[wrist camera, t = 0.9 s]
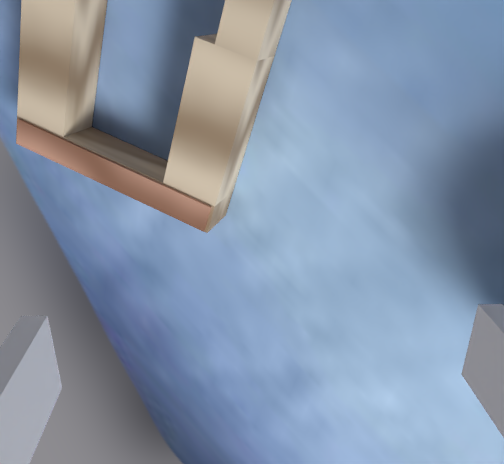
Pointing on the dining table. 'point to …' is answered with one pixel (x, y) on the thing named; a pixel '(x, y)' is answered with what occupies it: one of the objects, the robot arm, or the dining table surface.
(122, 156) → the light wood rectangular frame
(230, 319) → the dining table surface
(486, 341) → the robot arm
